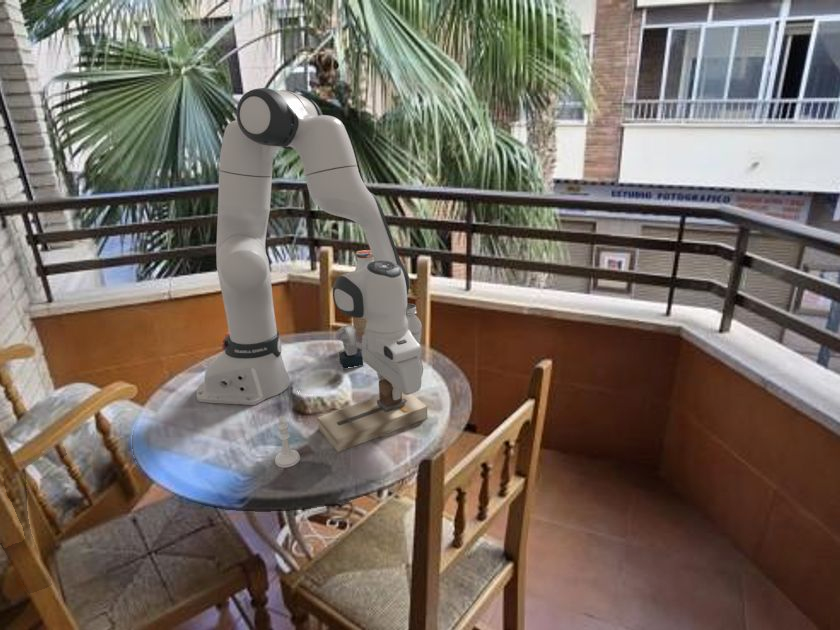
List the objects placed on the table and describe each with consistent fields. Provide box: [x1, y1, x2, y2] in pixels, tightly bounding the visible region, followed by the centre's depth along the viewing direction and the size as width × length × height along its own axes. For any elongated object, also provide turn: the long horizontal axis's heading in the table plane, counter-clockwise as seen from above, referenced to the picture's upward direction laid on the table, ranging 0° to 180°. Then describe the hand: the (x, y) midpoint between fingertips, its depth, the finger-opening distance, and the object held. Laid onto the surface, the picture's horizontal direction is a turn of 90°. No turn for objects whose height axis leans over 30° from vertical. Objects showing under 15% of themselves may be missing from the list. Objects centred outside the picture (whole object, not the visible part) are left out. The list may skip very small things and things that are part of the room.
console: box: [317, 393, 428, 453], centre depth 119 cm, size 22×10×3 cm, turn 123°
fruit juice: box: [352, 249, 374, 351], centre depth 152 cm, size 9×9×28 cm
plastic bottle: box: [406, 303, 424, 378], centre depth 134 cm, size 6×7×20 cm
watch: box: [336, 324, 364, 369], centre depth 144 cm, size 6×8×11 cm
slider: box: [377, 379, 405, 412], centre depth 119 cm, size 5×4×6 cm
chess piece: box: [274, 416, 301, 468], centre depth 106 cm, size 5×5×10 cm
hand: (390, 394), depth 119 cm, fingers closed on slider, 3 cm apart
